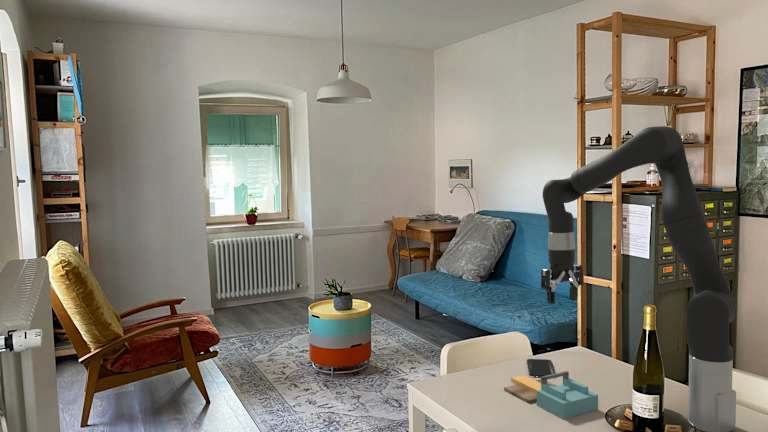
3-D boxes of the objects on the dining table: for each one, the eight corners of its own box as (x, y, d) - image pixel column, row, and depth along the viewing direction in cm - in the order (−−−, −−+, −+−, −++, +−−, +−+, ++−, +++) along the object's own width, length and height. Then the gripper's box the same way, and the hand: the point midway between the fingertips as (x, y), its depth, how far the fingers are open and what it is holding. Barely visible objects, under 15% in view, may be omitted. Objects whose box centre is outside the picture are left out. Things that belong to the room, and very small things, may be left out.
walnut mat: (568, 393, 166) (568, 391, 166) (528, 403, 160) (528, 400, 160) (542, 381, 176) (542, 379, 176) (503, 390, 170) (503, 387, 169)
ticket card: (553, 393, 164) (553, 389, 164) (541, 396, 162) (541, 392, 162) (523, 379, 176) (523, 375, 176) (511, 381, 174) (511, 377, 174)
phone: (551, 359, 193) (555, 375, 179) (551, 363, 193) (555, 378, 179) (526, 358, 195) (528, 374, 180) (526, 362, 195) (528, 377, 180)
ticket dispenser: (598, 409, 154) (598, 381, 154) (563, 418, 149) (562, 389, 149) (570, 396, 163) (570, 370, 163) (536, 405, 158) (536, 377, 158)
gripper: (552, 250, 166) (553, 307, 167) (589, 246, 173) (589, 300, 174) (533, 248, 173) (535, 302, 174) (570, 244, 179) (571, 296, 180)
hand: (562, 301), depth 174 cm, fingers open, 8 cm apart
